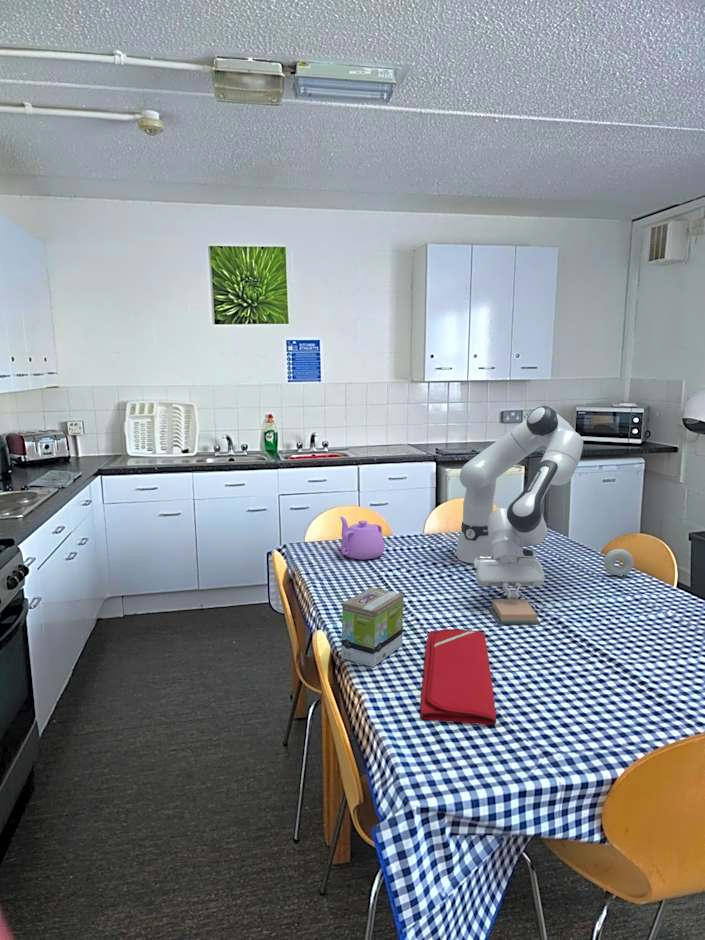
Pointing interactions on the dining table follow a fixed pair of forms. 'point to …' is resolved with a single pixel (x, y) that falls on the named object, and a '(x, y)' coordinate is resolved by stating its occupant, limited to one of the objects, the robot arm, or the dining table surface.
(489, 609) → the mat
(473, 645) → the dish drying mat
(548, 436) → the robot arm
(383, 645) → the tea box
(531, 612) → the tile
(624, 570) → the donut
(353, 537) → the teapot
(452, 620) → the dining table surface
